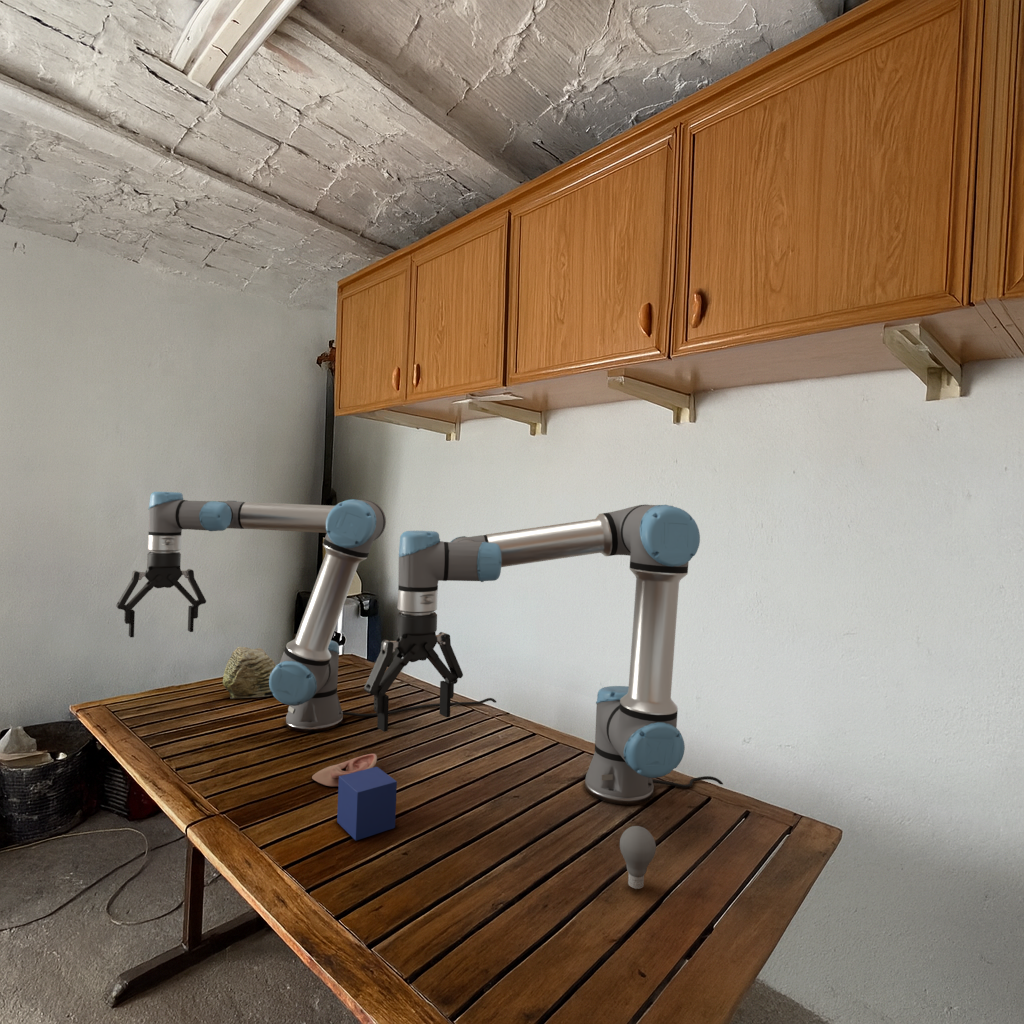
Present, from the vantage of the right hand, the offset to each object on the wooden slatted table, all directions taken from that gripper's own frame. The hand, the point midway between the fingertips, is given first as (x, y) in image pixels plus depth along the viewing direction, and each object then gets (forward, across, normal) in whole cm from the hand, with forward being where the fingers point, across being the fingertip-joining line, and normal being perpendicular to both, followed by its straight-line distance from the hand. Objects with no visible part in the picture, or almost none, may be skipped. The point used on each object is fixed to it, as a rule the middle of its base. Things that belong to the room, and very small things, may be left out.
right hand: (414, 722), depth 121 cm
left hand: (-6, -30, +78) cm, 84 cm away
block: (+21, -6, +7) cm, 23 cm away
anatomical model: (+21, -1, +29) cm, 36 cm away
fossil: (+20, 0, +98) cm, 100 cm away
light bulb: (+22, +22, -37) cm, 48 cm away
